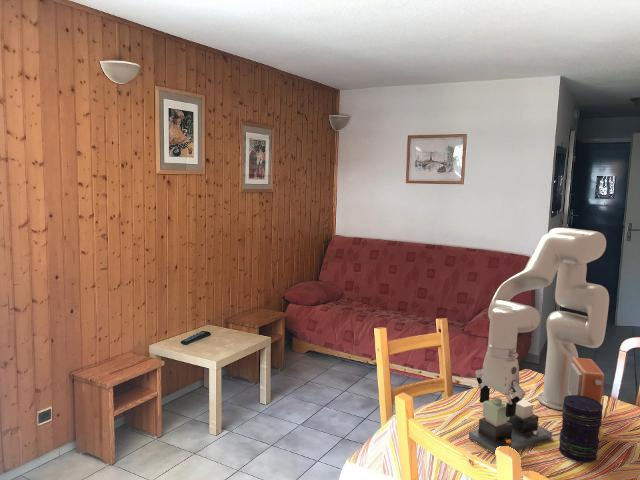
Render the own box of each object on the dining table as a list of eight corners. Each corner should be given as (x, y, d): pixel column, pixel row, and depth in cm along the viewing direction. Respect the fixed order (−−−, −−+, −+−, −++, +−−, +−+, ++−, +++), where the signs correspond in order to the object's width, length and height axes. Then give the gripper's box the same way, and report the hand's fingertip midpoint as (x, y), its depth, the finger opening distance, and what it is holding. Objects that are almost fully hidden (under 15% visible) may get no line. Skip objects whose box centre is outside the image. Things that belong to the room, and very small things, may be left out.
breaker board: (521, 422, 165) (522, 404, 164) (551, 438, 155) (553, 419, 154) (468, 438, 154) (470, 418, 153) (497, 456, 145) (499, 436, 144)
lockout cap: (495, 412, 156) (496, 394, 155) (509, 420, 151) (511, 401, 150) (482, 415, 153) (483, 397, 152) (496, 423, 149) (497, 404, 148)
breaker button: (521, 414, 160) (522, 399, 160) (531, 420, 157) (533, 404, 156) (511, 417, 158) (513, 401, 158) (522, 423, 155) (524, 407, 154)
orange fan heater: (585, 423, 166) (600, 447, 151) (561, 420, 167) (574, 444, 153) (592, 357, 163) (608, 376, 148) (568, 355, 164) (581, 373, 150)
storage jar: (592, 446, 152) (597, 397, 149) (602, 465, 142) (608, 413, 140) (554, 441, 154) (559, 393, 152) (562, 459, 144) (567, 408, 142)
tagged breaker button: (494, 429, 155) (495, 413, 155) (505, 436, 152) (506, 419, 151) (484, 432, 154) (485, 416, 153) (494, 439, 150) (496, 422, 149)
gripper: (536, 359, 144) (530, 419, 146) (488, 340, 158) (483, 394, 161) (516, 363, 140) (511, 424, 142) (469, 343, 155) (465, 399, 157)
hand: (496, 408), depth 152 cm, fingers open, 9 cm apart
